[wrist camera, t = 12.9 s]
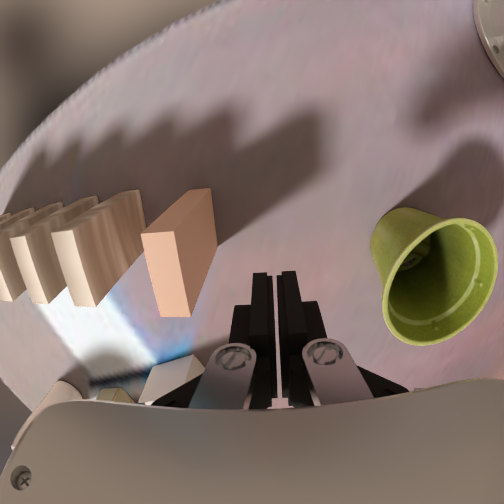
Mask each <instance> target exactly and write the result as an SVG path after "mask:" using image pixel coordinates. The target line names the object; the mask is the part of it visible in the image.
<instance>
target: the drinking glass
mask: <svg viewBox="0 0 504 504" xmlns="http://www.w3.org/2000/svg"><path fill="white" fill-rule="evenodd" d="M69 400H82V396H81V394H80V393H79V391H78V390H77V389H76V388H75V387H73V386H72V385H70V384H69V383H67V382H64V381H57V382H55V383H54V385H53V386H52V388H51V389H50V391H49V392H48V393H47V395H46V396H45V397H44V399H43V400H42V401H41V402H40V404H39V405H38V406H37V407H36V409H35V410H34V411H33V413H32V414H31V415H30V417H29V418H28V419H27V420H26V422H25V423H24V425H23V426H22V428H21V429H20V431H19V432H18V434H17V436H16V438H15V440H14V442H13V444H12V446H11V448H12V450H14V448H15V446H16V444H17V443H18V441H19V439H20V438H21V436H22V434H23V433H24V431H25V430H26V428H27V427H28V425H29V424H30V423H31V421H32V420H33V419H34V417H35V416H36V415H37V414H38V413H39V412H40V411H41V410H42V409H44V408H45V407H47V406H49V405H51V404H54V403H58V402H62V401H69Z"/></svg>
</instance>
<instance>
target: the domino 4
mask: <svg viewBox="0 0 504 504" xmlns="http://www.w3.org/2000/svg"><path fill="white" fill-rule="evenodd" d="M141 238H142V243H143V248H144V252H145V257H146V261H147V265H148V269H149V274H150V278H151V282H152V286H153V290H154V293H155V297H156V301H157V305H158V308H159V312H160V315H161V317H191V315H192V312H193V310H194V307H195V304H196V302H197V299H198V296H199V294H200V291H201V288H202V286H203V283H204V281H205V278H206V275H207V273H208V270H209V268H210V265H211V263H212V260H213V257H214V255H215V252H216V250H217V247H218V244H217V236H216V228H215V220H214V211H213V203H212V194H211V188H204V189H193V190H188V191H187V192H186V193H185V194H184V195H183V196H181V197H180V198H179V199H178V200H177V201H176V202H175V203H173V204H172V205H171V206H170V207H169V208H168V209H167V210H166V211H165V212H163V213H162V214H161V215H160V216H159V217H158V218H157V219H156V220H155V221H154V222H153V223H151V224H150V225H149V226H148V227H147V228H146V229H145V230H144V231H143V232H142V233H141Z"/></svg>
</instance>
